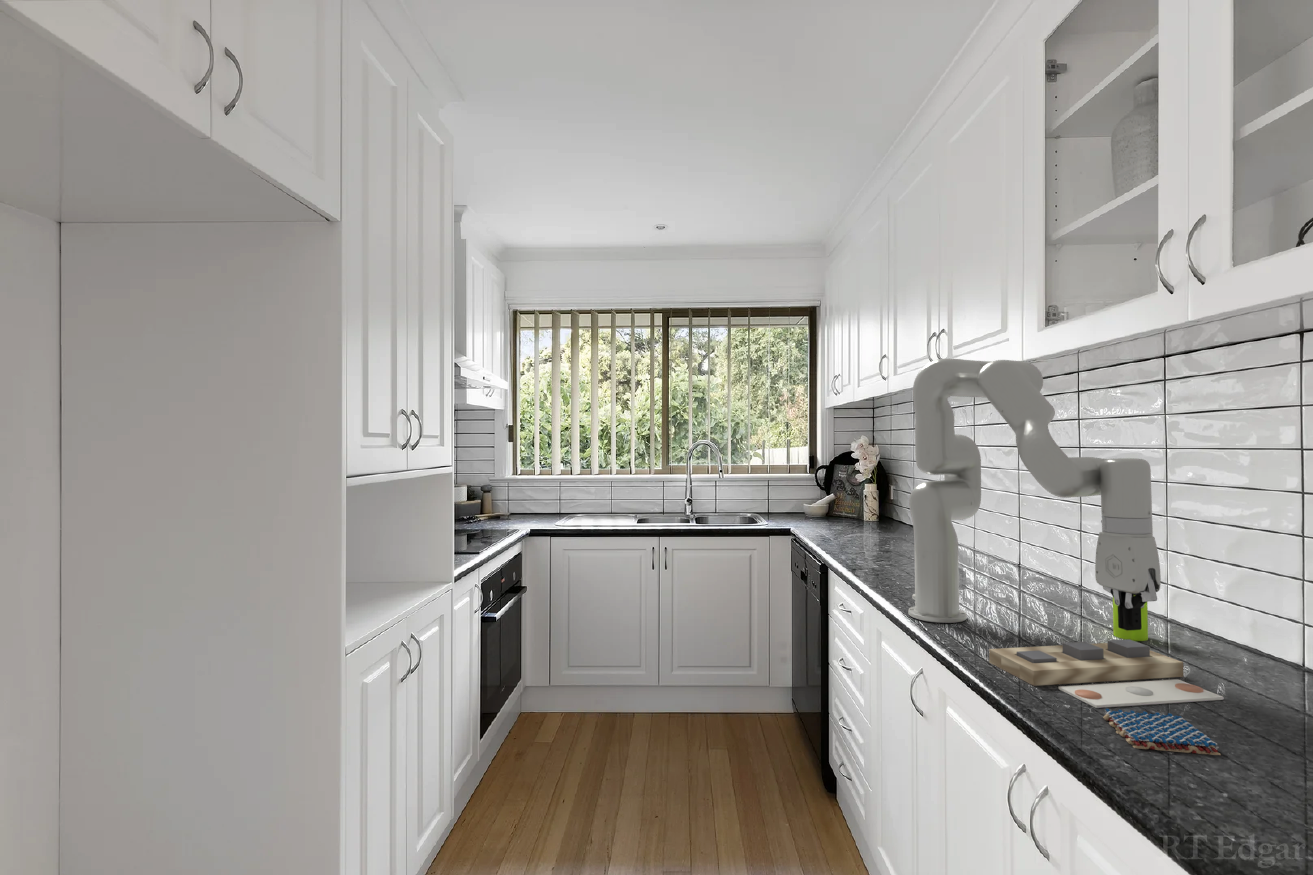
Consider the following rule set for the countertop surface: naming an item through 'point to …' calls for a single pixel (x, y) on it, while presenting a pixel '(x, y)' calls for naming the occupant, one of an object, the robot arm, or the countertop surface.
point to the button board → (1083, 666)
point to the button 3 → (1128, 648)
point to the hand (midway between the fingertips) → (1129, 628)
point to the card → (1139, 693)
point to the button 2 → (1083, 651)
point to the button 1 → (1036, 656)
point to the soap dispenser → (1131, 634)
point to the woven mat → (1160, 732)
